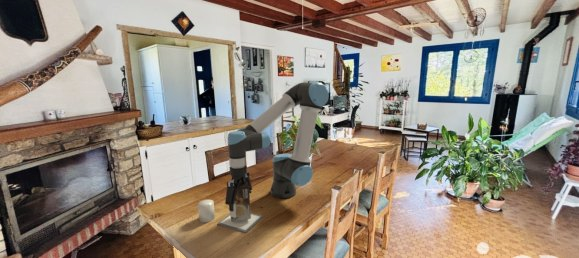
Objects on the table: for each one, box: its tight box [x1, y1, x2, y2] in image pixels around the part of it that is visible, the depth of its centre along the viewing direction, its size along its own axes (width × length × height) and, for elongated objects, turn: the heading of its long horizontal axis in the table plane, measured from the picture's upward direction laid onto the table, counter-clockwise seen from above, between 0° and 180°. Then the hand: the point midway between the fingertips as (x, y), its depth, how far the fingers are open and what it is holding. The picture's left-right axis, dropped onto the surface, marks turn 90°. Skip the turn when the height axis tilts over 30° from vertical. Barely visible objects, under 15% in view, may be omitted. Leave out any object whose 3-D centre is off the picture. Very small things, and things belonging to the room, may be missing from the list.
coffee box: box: [231, 182, 251, 222], centre depth 114 cm, size 9×6×16 cm
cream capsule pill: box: [197, 199, 216, 224], centre depth 117 cm, size 7×7×8 cm
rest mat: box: [217, 213, 264, 234], centre depth 116 cm, size 14×16×1 cm
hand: (240, 211), depth 115 cm, fingers closed on coffee box, 10 cm apart
